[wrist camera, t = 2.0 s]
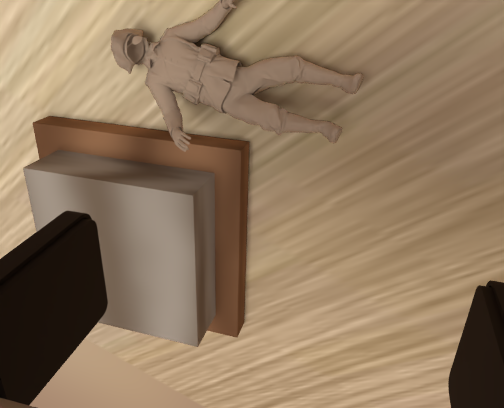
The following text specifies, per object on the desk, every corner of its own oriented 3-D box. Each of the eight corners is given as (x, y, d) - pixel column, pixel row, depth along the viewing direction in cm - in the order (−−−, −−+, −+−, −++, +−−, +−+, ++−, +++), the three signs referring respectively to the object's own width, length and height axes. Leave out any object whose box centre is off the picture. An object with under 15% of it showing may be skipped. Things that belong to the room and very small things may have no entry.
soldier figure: (315, 203, 20) (59, 101, 20) (302, 198, 25) (96, 116, 25) (382, 37, 20) (123, -70, 20) (356, 65, 25) (148, -21, 25)
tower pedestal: (249, 141, 26) (221, 171, 22) (244, 322, 32) (221, 371, 28) (49, 116, 29) (-6, 138, 25) (78, 285, 35) (37, 324, 31)
